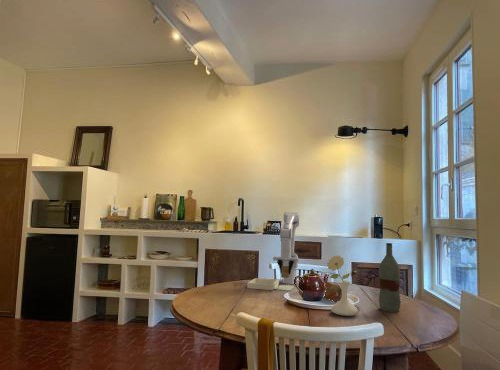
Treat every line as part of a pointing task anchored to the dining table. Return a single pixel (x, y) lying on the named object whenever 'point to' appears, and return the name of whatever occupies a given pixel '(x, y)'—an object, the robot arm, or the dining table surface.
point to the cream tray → (263, 284)
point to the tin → (333, 292)
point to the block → (285, 272)
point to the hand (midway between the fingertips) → (285, 273)
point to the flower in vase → (343, 305)
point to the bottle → (389, 282)
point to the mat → (285, 288)
